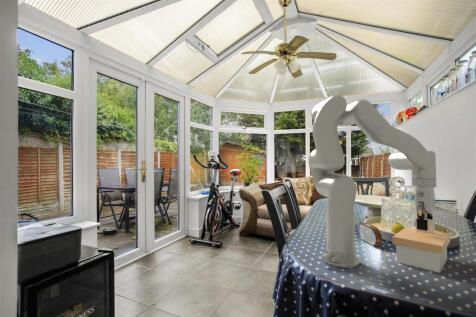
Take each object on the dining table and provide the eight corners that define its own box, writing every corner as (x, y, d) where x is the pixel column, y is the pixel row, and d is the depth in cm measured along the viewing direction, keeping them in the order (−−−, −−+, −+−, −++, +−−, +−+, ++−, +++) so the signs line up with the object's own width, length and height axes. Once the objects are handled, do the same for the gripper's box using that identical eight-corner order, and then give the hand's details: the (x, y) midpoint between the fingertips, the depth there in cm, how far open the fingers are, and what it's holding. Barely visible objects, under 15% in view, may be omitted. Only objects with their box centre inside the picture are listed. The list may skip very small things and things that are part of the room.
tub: (439, 272, 77) (439, 247, 77) (396, 261, 86) (395, 239, 86) (447, 259, 87) (446, 237, 88) (407, 250, 96) (407, 231, 97)
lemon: (404, 239, 111) (403, 222, 111) (408, 243, 105) (407, 225, 106) (390, 238, 112) (390, 221, 113) (393, 242, 107) (393, 224, 107)
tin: (383, 249, 98) (382, 228, 99) (375, 249, 98) (375, 228, 99) (364, 238, 113) (364, 220, 114) (357, 238, 114) (357, 220, 114)
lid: (442, 253, 76) (441, 230, 76) (392, 243, 86) (391, 222, 86) (450, 241, 88) (449, 221, 88) (405, 233, 98) (405, 215, 98)
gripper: (431, 184, 83) (433, 234, 82) (440, 182, 95) (441, 225, 94) (406, 183, 89) (407, 229, 88) (417, 181, 100) (418, 222, 100)
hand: (425, 227), depth 91 cm, fingers open, 9 cm apart
